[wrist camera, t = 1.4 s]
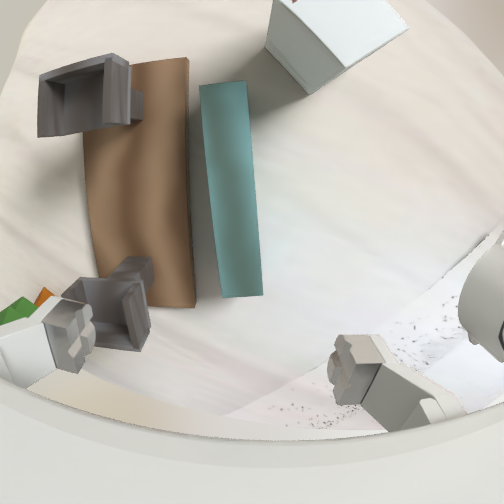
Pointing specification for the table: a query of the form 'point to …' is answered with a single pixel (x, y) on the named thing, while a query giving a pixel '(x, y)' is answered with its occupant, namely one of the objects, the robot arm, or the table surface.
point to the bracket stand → (128, 186)
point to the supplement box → (328, 36)
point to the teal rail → (232, 187)
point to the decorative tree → (23, 308)
